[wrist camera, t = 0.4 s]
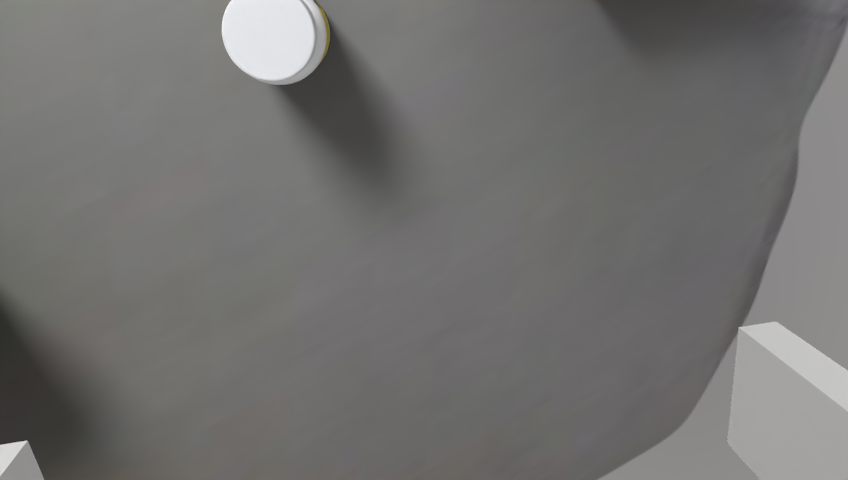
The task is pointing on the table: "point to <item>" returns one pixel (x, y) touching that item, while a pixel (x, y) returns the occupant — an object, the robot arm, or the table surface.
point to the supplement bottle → (276, 38)
